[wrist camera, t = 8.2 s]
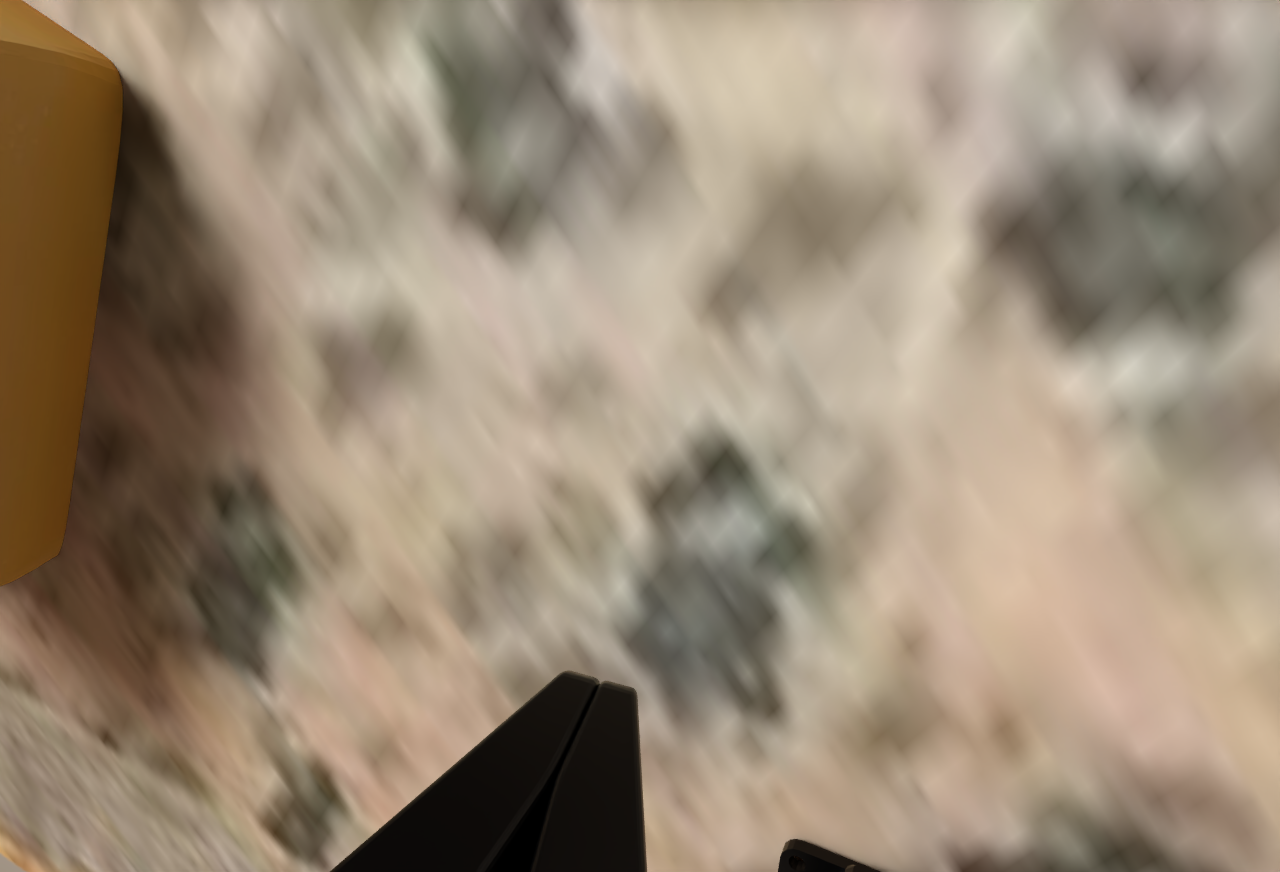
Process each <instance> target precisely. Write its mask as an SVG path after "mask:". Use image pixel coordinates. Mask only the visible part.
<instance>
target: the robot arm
mask: <svg viewBox="0 0 1280 872" xmlns="http://www.w3.org/2000/svg"><path fill="white" fill-rule="evenodd" d="M794 856H797V857H799V858H801V859H802V860H803V861H799V860H797V859H795V858H794ZM330 872H647V861H646V843H645V825H644V807H643V789H642V771H641V753H640V735H639V717H638V699H637V693H636V691H635V689H634V688H631V687H628V686H624V685H621V684H617V683H613V682H610V681H604V682H602V683H601V684H600V683H599V681H598V680H597V679H596V678H594V677H591V676H588V675H584V674H580V673H577V672H573V671H565V672H562V673H560V674H559V675H558V676H557V677H556V678H554V679H553V680H552V681H551V682H550V683H549V684H547V685H546V686H545V687H544V688H543V689H542V690H540V691H539V692H538V693H537V694H536V695H535V696H533V697H532V698H531V699H530V700H529V701H528V702H526V703H525V704H524V705H523V706H522V707H521V708H520V709H518V710H517V711H516V712H515V713H514V714H513V715H511V716H510V717H509V718H508V719H507V720H506V721H504V722H503V723H502V724H501V725H500V726H499V727H497V728H496V729H495V730H494V731H493V732H492V733H490V734H489V735H488V736H487V737H486V738H485V739H483V740H482V741H481V742H480V743H479V744H478V745H477V746H475V747H474V748H473V749H472V750H471V751H470V752H468V753H467V754H466V755H465V756H464V757H463V758H461V759H460V760H459V761H458V762H457V763H456V764H454V765H453V766H452V767H451V768H450V769H449V770H447V771H446V772H445V773H444V774H443V775H442V776H441V777H439V778H438V779H437V780H436V781H435V782H434V783H432V784H431V785H430V786H429V787H428V788H427V789H425V790H424V791H423V792H422V793H421V794H420V795H418V796H417V797H416V798H415V799H414V800H413V801H411V802H410V803H409V804H408V805H407V806H406V807H404V808H403V809H402V810H401V811H400V812H399V813H398V814H396V815H395V816H394V817H393V818H392V819H391V820H389V821H388V822H387V823H386V824H385V825H384V826H382V827H381V828H380V829H379V830H378V831H377V832H375V833H374V834H373V835H372V836H371V837H370V838H368V839H367V840H366V841H365V842H364V843H363V844H361V845H360V846H359V847H358V848H357V849H356V850H355V851H353V852H352V853H351V854H350V855H349V856H348V857H346V858H345V859H344V860H343V861H342V862H341V863H339V864H338V865H337V866H336V867H335V868H334V869H332V870H331V871H330ZM778 872H880V871H877V870H875V869H872V868H870V867H867V866H865V865H862V864H860V863H857V862H855V861H852V860H850V859H847V858H845V857H842V856H840V855H837V854H835V853H832V852H830V851H827V850H825V849H822V848H820V847H817V846H815V845H812V844H810V843H807V842H805V841H802V840H798V839H793V840H789V841H788V842H786V843H785V846H784V848H783V851H782V854H781V856H780V862H779V868H778Z"/></svg>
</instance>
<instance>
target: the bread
mask: <svg viewBox="0 0 1280 872" xmlns="http://www.w3.org/2000/svg"><path fill="white" fill-rule="evenodd" d="M122 113H123V87H122V83H121V79H120V75H119V72H118V70H117V69H116V67H115V66H114V64H113V63H112V62H111V61H110V60H109V59H108V58H107V57H105V56H104V55H103V54H101V53H100V52H99V51H97V50H96V49H94V48H93V47H91V46H90V45H88V44H87V43H85V42H84V41H82V40H81V39H79V38H78V37H76V36H75V35H73V34H72V33H70V32H69V31H67V30H66V29H64V28H63V27H61V26H60V25H58V24H57V23H55V22H54V21H52V20H51V19H49V18H48V17H46V16H45V15H43V14H42V13H40V12H39V11H37V10H36V9H34V8H33V7H31V6H30V5H28V4H27V3H25V2H24V1H22V0H0V586H2V585H5V584H7V583H10V582H12V581H14V580H16V579H18V578H20V577H22V576H23V575H25V574H27V573H29V572H31V571H33V570H35V569H36V568H38V567H39V566H41V565H42V564H44V563H45V562H47V561H48V560H50V559H52V558H54V557H56V556H57V555H58V554H59V552H60V549H61V547H62V544H63V539H64V535H65V530H66V524H67V518H68V512H69V505H70V498H71V491H72V484H73V477H74V469H75V462H76V455H77V448H78V441H79V434H80V427H81V420H82V413H83V405H84V398H85V391H86V384H87V377H88V370H89V363H90V356H91V348H92V341H93V334H94V327H95V320H96V313H97V306H98V299H99V292H100V284H101V277H102V270H103V263H104V256H105V249H106V242H107V235H108V228H109V220H110V213H111V206H112V199H113V192H114V185H115V178H116V170H117V162H118V154H119V146H120V137H121V125H122Z"/></svg>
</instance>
